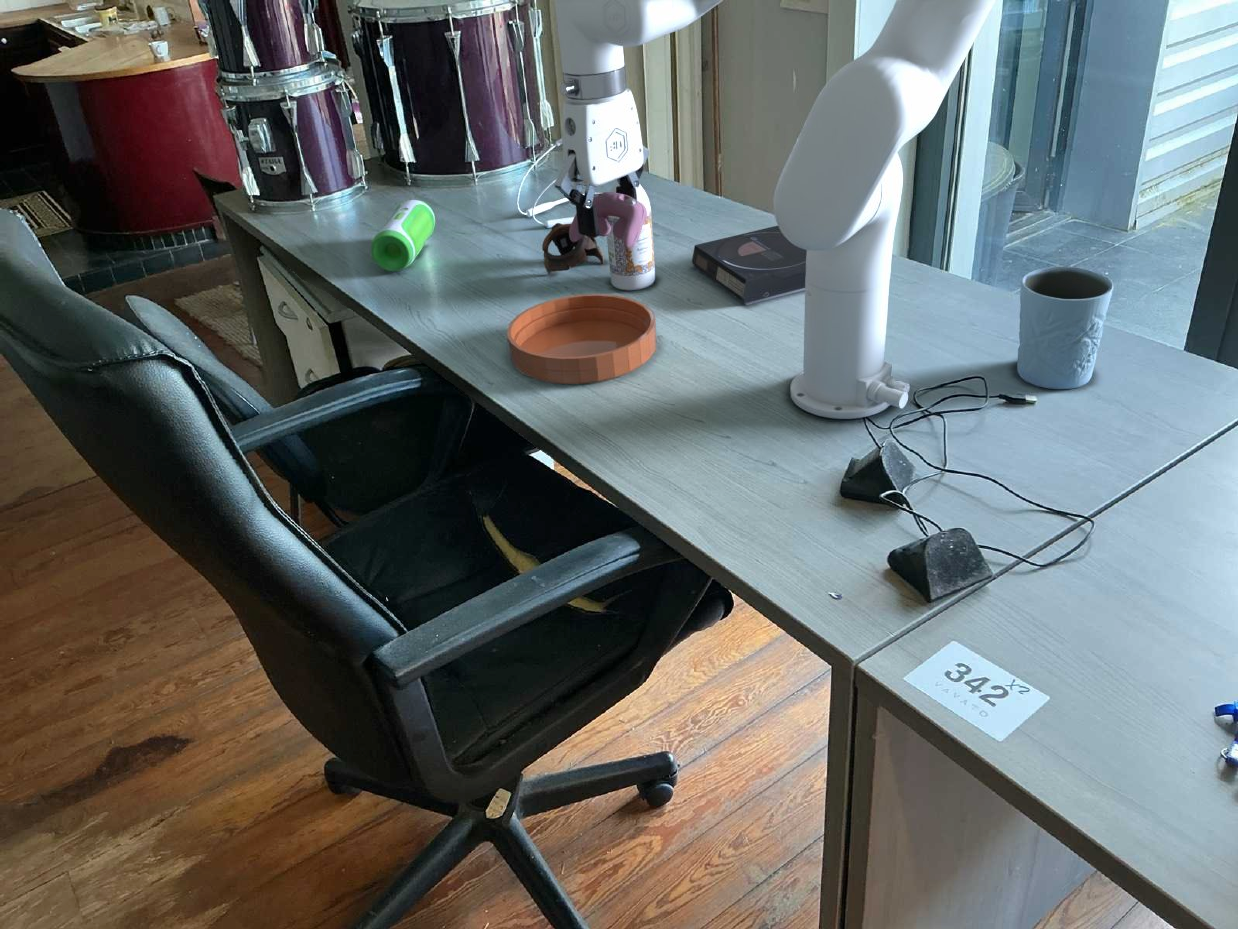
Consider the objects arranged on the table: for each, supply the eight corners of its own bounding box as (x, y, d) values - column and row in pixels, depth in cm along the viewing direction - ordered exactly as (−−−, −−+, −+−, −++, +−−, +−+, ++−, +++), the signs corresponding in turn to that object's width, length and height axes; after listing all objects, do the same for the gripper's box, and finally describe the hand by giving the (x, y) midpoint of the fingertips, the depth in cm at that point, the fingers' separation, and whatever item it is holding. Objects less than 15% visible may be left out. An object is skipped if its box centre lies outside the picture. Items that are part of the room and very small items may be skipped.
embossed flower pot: (1086, 398, 123) (1104, 305, 116) (999, 382, 127) (1011, 291, 121) (1103, 362, 130) (1120, 271, 123) (1019, 348, 134) (1032, 260, 128)
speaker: (401, 237, 188) (393, 196, 184) (441, 235, 187) (433, 195, 183) (373, 275, 173) (364, 232, 169) (416, 274, 172) (407, 230, 168)
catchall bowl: (686, 343, 143) (685, 317, 141) (580, 401, 132) (576, 373, 129) (586, 307, 156) (584, 283, 153) (481, 357, 144) (476, 331, 142)
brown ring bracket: (618, 269, 168) (599, 236, 162) (571, 305, 168) (551, 273, 162) (583, 232, 175) (564, 198, 169) (538, 265, 175) (517, 233, 169)
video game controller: (646, 252, 135) (654, 197, 134) (628, 248, 131) (637, 192, 130) (582, 244, 140) (590, 191, 139) (564, 240, 136) (571, 185, 135)
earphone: (500, 197, 190) (559, 117, 189) (559, 248, 201) (615, 173, 201) (533, 216, 180) (595, 132, 179) (593, 269, 191) (652, 190, 190)
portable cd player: (692, 269, 165) (691, 245, 163) (785, 247, 170) (785, 223, 168) (742, 306, 152) (742, 280, 150) (842, 280, 157) (843, 255, 155)
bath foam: (627, 295, 158) (616, 165, 147) (602, 282, 163) (590, 155, 153) (664, 282, 161) (656, 154, 150) (638, 270, 166) (629, 144, 155)
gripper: (564, 104, 118) (581, 253, 128) (665, 70, 128) (674, 211, 138) (521, 97, 123) (540, 242, 133) (622, 66, 133) (634, 202, 143)
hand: (609, 225), depth 135 cm, fingers closed on video game controller, 6 cm apart
